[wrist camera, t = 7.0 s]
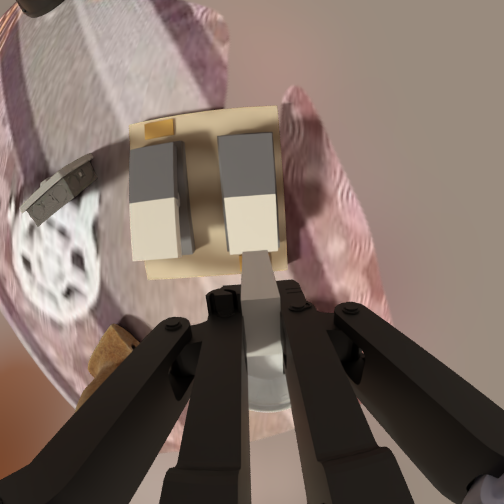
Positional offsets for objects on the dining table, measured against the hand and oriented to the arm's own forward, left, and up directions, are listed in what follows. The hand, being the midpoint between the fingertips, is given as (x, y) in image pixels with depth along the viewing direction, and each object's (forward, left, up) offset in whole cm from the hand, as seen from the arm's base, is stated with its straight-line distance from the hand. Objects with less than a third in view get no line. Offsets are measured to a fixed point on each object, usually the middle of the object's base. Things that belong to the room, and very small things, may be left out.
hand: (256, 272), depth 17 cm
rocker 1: (-4, -10, -13) cm, 17 cm away
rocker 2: (-4, 0, -13) cm, 13 cm away
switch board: (-4, -5, -18) cm, 19 cm away
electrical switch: (-8, -24, -18) cm, 31 cm away
